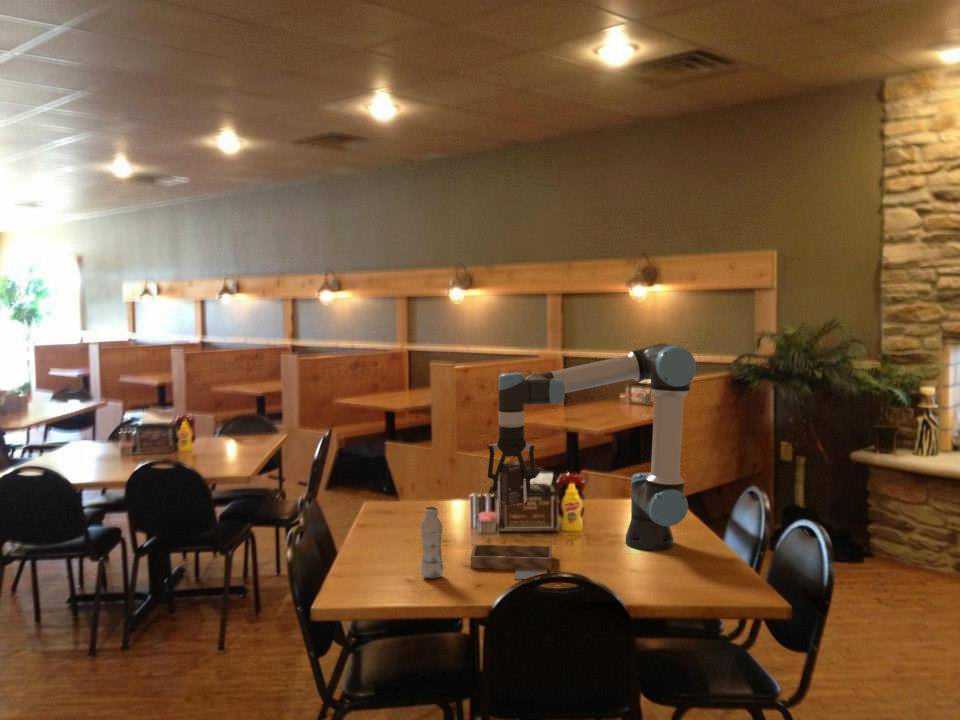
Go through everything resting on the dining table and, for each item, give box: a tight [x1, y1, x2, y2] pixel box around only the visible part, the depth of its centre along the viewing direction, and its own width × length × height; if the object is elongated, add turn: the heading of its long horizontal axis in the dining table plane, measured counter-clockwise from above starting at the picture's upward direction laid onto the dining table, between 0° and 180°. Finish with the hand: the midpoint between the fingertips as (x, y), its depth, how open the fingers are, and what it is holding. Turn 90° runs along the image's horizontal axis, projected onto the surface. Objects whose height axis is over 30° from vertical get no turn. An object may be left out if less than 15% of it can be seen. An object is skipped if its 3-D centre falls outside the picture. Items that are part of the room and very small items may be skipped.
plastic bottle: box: [420, 506, 444, 580], centre depth 247 cm, size 6×7×20 cm
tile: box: [514, 568, 548, 581], centre depth 249 cm, size 9×9×1 cm
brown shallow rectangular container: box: [470, 543, 553, 571], centre depth 260 cm, size 24×13×4 cm, turn 85°
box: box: [499, 461, 525, 507], centre depth 259 cm, size 6×4×12 cm
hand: (512, 501), depth 259 cm, fingers closed on box, 7 cm apart
